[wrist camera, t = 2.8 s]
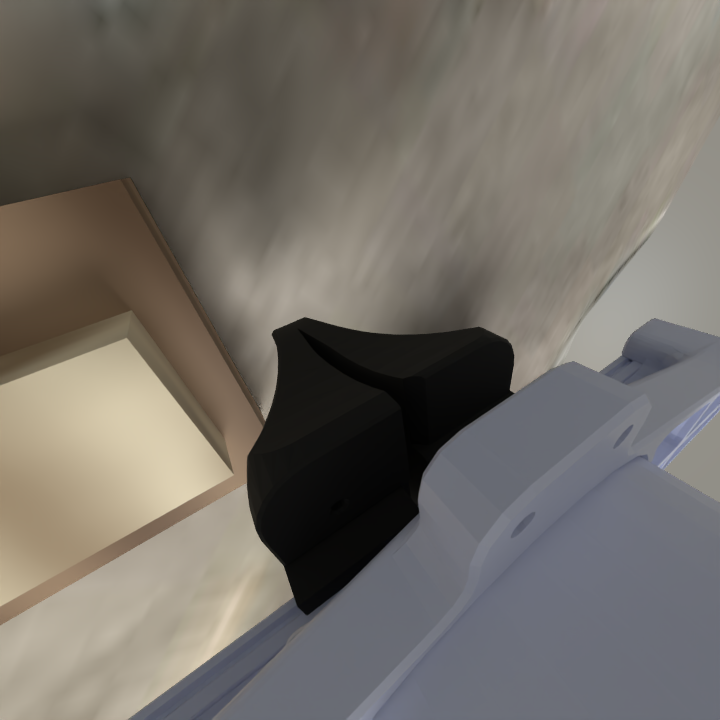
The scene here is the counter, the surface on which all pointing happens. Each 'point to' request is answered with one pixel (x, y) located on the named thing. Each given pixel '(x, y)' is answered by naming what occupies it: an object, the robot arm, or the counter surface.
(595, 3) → the counter surface
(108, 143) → the counter surface
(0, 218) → the brown flat block
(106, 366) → the tile
